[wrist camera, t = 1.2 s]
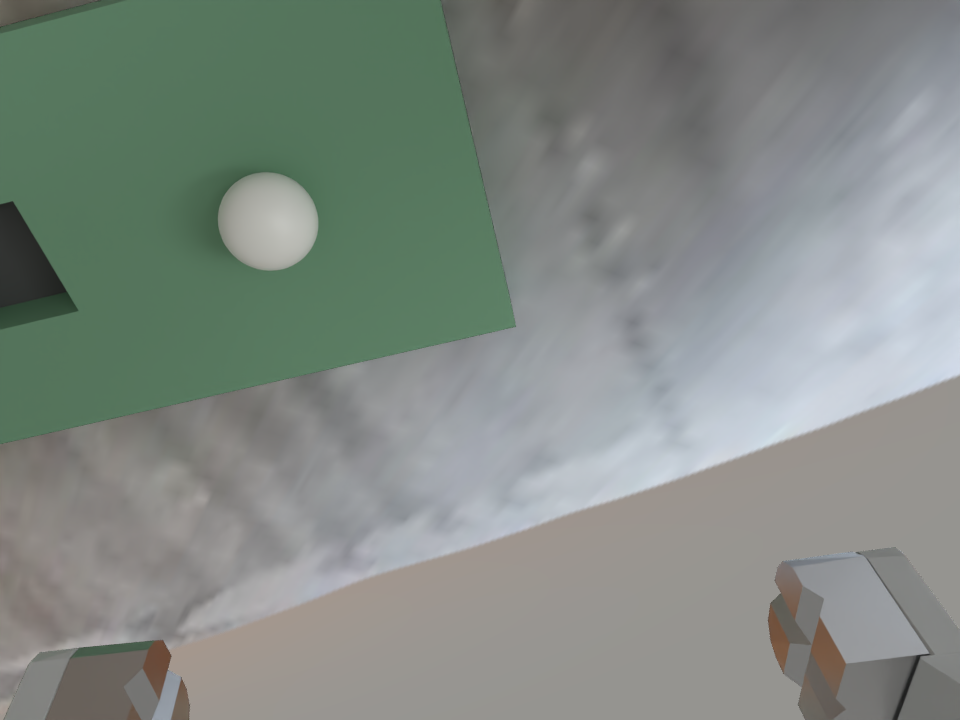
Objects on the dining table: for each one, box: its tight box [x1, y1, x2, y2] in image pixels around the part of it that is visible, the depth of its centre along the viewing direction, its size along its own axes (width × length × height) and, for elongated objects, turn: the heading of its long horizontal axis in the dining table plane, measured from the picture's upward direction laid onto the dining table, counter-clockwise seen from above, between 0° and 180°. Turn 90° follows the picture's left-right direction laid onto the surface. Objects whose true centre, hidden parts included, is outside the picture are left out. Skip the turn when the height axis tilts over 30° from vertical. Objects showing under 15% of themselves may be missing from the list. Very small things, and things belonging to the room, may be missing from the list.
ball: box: [218, 172, 318, 271], centre depth 29 cm, size 4×4×4 cm
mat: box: [0, 0, 516, 444], centre depth 26 cm, size 28×16×16 cm, turn 103°
